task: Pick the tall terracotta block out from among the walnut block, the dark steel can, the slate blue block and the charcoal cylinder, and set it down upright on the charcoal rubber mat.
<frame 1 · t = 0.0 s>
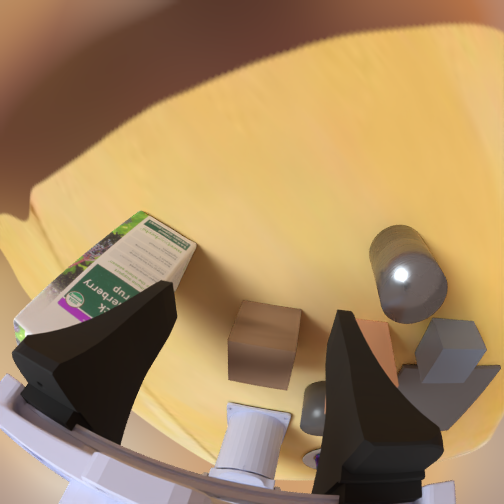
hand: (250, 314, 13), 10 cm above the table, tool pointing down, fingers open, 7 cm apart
charcoal mat: (430, 402, 28), on the table
charcoal cylinder: (325, 392, 29), on the table
dark steel can: (397, 252, 20), on the table
slate blue block: (444, 336, 23), on the table
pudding: (339, 455, 38), on the table
terracotta block: (356, 338, 25), on the table
syrup box: (160, 251, 25), on the table
walnut block: (269, 325, 26), on the table
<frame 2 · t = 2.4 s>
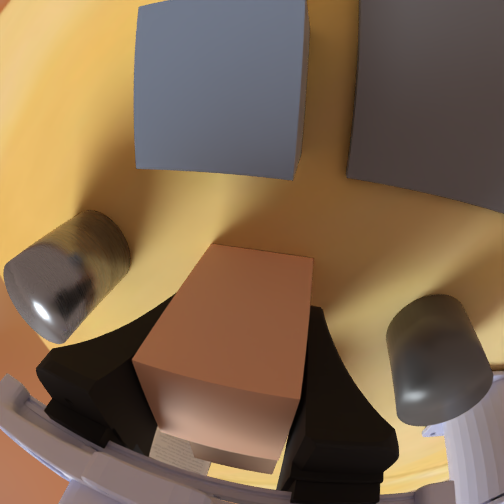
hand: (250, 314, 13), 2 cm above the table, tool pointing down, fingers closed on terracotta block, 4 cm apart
charcoal cylinder: (427, 329, 13), on the table
dark steel can: (98, 247, 15), on the table
slate blue block: (245, 86, 10), on the table
terracotta block: (258, 292, 14), on the table, touching gripper
syrup box: (183, 429, 24), on the table
walnut block: (250, 388, 18), on the table
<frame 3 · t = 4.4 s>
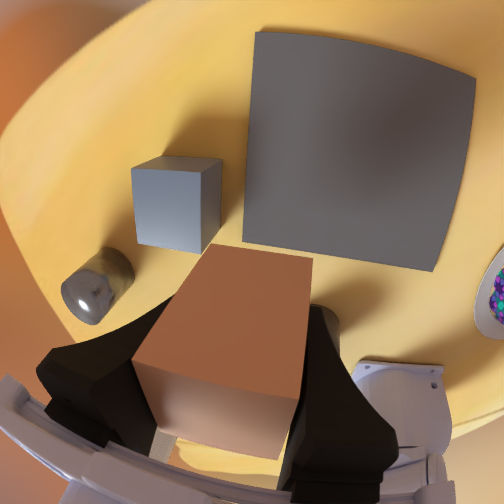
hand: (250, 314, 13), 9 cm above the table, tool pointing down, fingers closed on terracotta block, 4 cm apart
charcoal mat: (361, 154, 17), on the table
charcoal cylinder: (311, 325, 24), on the table
dark steel can: (115, 268, 25), on the table
slate blue block: (191, 191, 20), on the table
terracotta block: (257, 292, 14), point 7 cm above the table, touching gripper
syrup box: (168, 394, 34), on the table
when the fingers open (3 cm above the table, at t = 6.4 s): terracotta block stays where it is, resting on charcoal mat.
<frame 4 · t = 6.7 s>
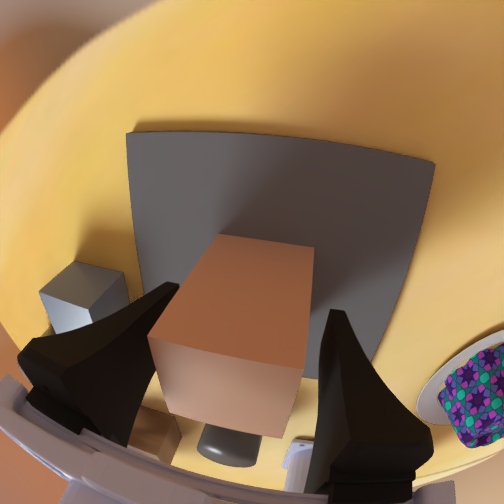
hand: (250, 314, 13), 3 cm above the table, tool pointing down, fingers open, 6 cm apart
charcoal mat: (263, 275, 15), on the table
charcoal cylinder: (239, 411, 22), on the table
slate blue block: (105, 295, 19), on the table
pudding: (481, 375, 16), on the table
terracotta block: (261, 281, 15), resting on charcoal mat
walnut block: (157, 419, 27), on the table
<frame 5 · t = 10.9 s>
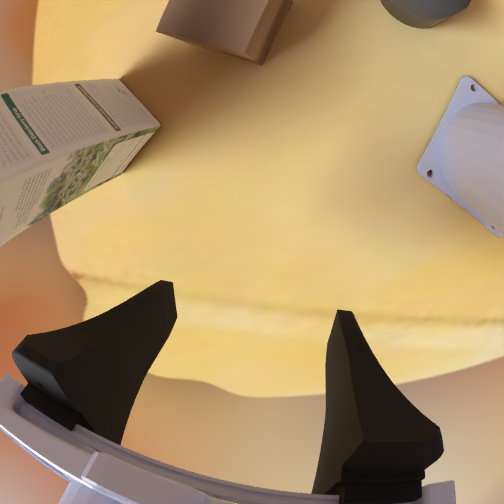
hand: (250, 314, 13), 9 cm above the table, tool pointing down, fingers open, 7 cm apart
syrup box: (120, 127, 20), on the table
walnut block: (240, 21, 14), on the table
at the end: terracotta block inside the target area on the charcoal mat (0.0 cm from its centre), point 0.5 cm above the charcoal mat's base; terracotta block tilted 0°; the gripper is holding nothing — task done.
